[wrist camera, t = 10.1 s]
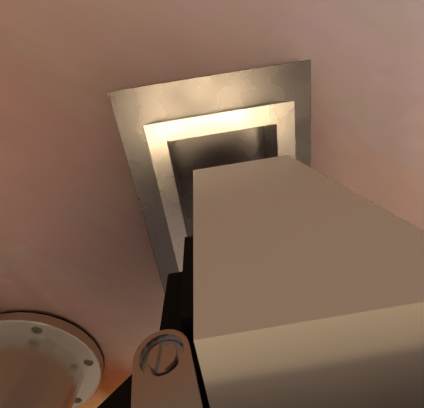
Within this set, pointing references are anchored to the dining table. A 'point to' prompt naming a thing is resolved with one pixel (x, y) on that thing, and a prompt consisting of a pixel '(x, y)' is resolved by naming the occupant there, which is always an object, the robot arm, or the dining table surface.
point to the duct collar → (206, 139)
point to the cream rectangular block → (303, 291)
